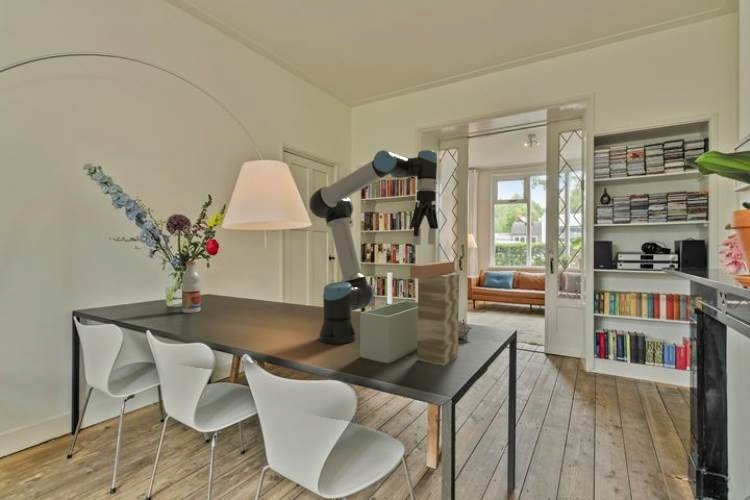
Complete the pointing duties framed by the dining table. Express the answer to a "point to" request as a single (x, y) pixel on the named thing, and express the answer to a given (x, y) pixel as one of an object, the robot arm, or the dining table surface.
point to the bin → (389, 331)
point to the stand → (438, 318)
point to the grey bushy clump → (463, 329)
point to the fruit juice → (191, 289)
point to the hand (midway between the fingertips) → (424, 244)
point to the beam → (431, 269)
